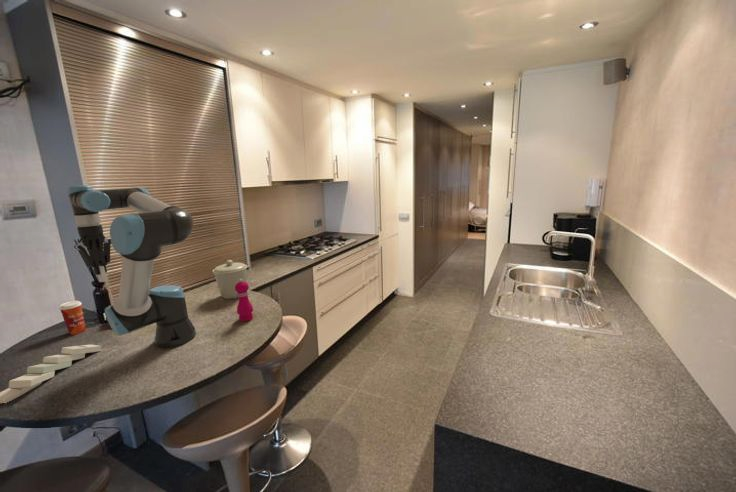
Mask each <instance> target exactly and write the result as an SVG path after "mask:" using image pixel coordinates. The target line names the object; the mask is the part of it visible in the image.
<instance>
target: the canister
mask: <svg viewBox="0 0 736 492" xmlns="http://www.w3.org/2000/svg"><path fill="white" fill-rule="evenodd" d="M247 268H248V265H247V264H245V263H243V262H234V261H233V260H232V259H228V260H226V262H225V263H223V264H220V265H218V266H216V267H215V268H214V269H212V273H213V274H214V278H215V280H216V284H217V288H218V291H219V293H220V296H221V297H222V299H226V300H233V299H239V297H238V296H237V291H236V290H235V285H236V284H237V283H238V282H239V279H243V282H246V283H248V281H247Z"/></svg>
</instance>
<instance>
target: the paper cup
mask: <svg viewBox="0 0 736 492" xmlns="http://www.w3.org/2000/svg"><path fill="white" fill-rule="evenodd" d="M82 304H83V303H82V302H81V301H80V300H71V301H67V302H64V303H61V304H60V305H59V308H58V309H59V310H60V313H61V315H62V317H63V320H64V323H65V326H66V328H67V330H68V333H69V335H70V336H71V335H72V336H73V335H78V334H79V335H80V334H81V333H84V332H85V331H86V322H85V318H84V313H83V308H82Z"/></svg>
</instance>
